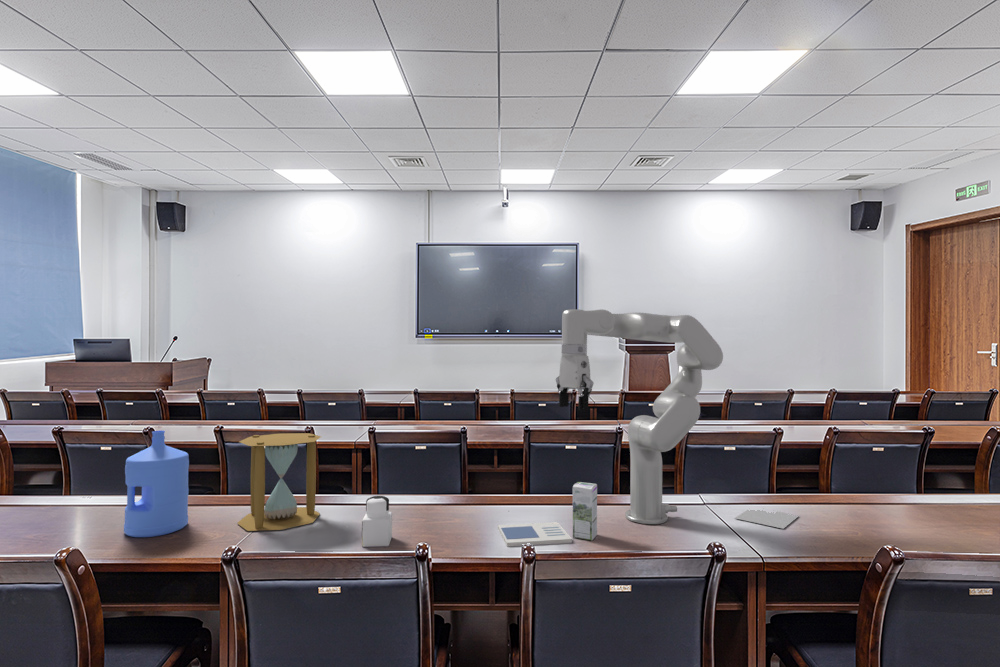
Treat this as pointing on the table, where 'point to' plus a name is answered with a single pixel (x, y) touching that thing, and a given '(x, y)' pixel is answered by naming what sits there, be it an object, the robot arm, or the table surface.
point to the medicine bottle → (377, 523)
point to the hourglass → (281, 501)
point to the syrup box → (584, 510)
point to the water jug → (157, 490)
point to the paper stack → (767, 518)
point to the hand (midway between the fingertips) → (573, 408)
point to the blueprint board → (534, 534)
